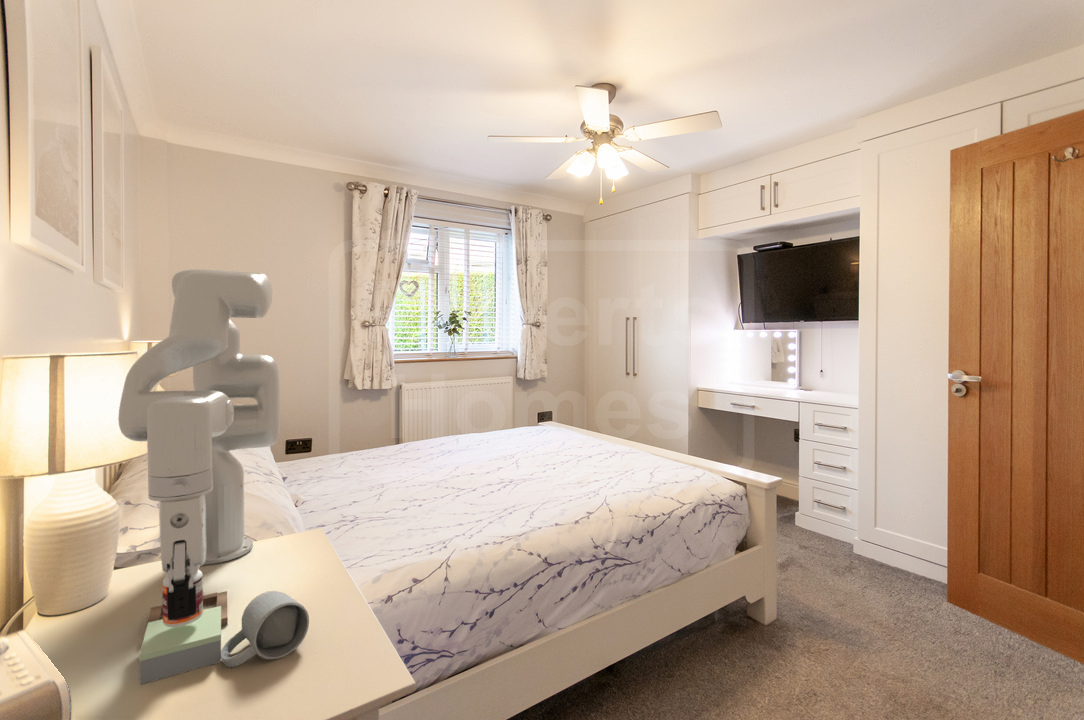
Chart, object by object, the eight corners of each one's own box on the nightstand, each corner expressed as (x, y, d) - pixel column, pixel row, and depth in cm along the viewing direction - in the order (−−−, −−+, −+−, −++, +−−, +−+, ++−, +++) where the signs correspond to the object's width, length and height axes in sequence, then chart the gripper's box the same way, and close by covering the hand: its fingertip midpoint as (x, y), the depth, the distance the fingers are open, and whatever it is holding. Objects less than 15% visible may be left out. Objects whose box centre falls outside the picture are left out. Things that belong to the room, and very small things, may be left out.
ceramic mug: (289, 624, 81) (288, 578, 81) (310, 645, 76) (309, 595, 75) (213, 655, 74) (211, 604, 73) (230, 681, 68) (228, 626, 68)
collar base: (151, 613, 84) (151, 606, 84) (227, 596, 90) (227, 590, 90) (142, 647, 75) (142, 639, 75) (227, 625, 81) (227, 618, 81)
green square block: (148, 649, 75) (148, 622, 74) (221, 630, 79) (221, 605, 79) (139, 684, 67) (139, 655, 67) (221, 662, 72) (220, 634, 72)
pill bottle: (154, 626, 71) (152, 567, 71) (184, 608, 76) (183, 553, 76) (182, 630, 70) (181, 571, 70) (211, 612, 75) (210, 556, 75)
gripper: (211, 495, 67) (213, 628, 68) (213, 466, 81) (215, 577, 82) (139, 504, 63) (142, 646, 64) (155, 472, 77) (157, 589, 78)
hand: (183, 606), depth 73 cm, fingers closed on pill bottle, 4 cm apart
